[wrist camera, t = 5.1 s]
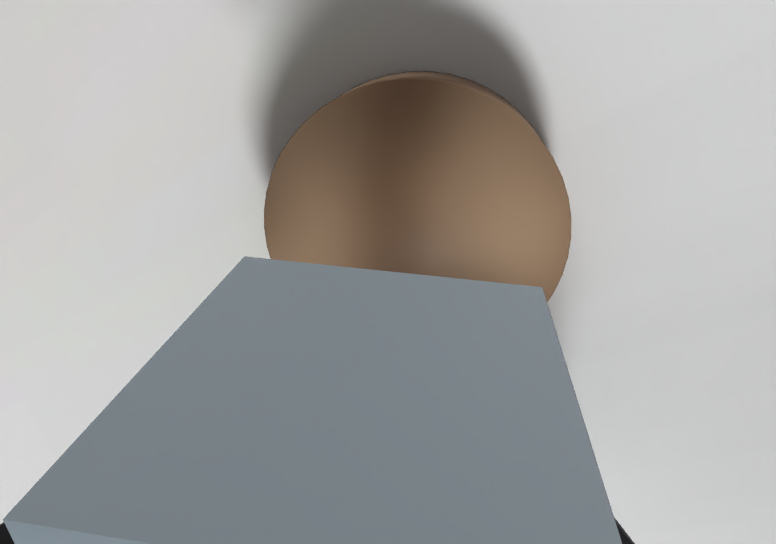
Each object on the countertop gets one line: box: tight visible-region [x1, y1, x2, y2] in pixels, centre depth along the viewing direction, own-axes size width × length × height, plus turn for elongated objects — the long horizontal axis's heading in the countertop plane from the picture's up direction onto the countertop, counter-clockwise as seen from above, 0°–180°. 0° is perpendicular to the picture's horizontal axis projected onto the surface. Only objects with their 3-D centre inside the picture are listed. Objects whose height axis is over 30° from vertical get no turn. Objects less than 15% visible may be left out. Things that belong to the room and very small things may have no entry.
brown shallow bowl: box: [264, 71, 571, 302], centre depth 17 cm, size 10×10×2 cm
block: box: [3, 257, 622, 544], centre depth 7 cm, size 5×5×5 cm
